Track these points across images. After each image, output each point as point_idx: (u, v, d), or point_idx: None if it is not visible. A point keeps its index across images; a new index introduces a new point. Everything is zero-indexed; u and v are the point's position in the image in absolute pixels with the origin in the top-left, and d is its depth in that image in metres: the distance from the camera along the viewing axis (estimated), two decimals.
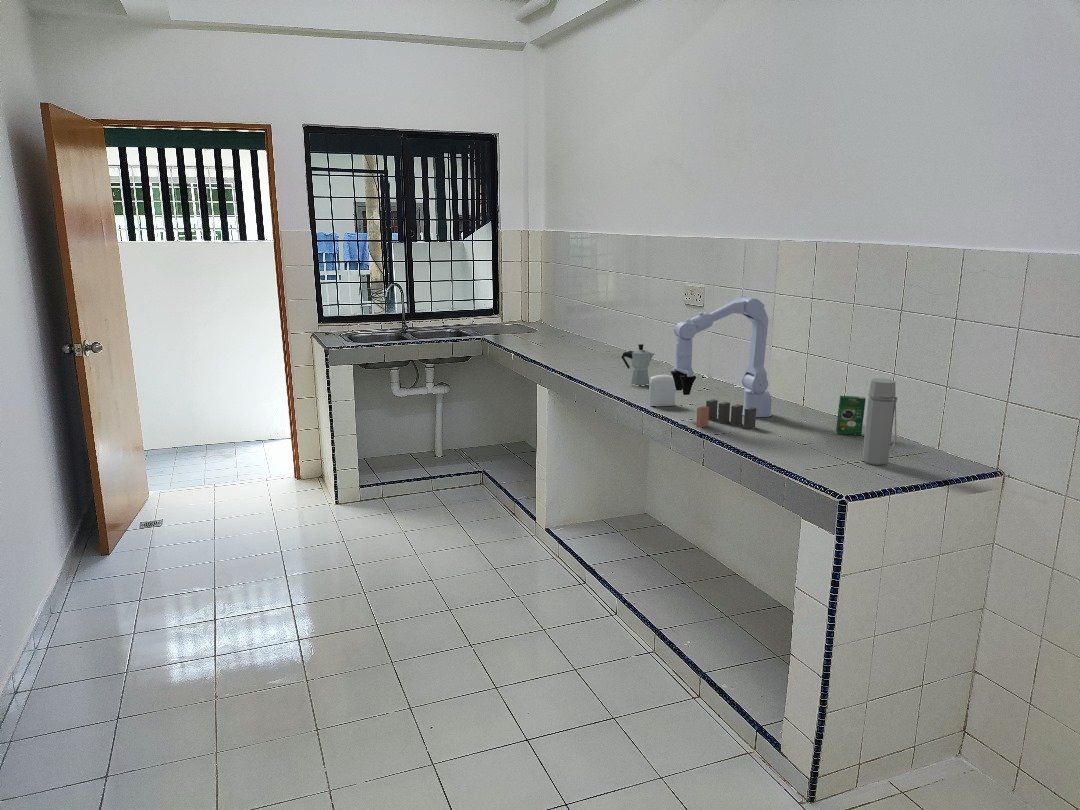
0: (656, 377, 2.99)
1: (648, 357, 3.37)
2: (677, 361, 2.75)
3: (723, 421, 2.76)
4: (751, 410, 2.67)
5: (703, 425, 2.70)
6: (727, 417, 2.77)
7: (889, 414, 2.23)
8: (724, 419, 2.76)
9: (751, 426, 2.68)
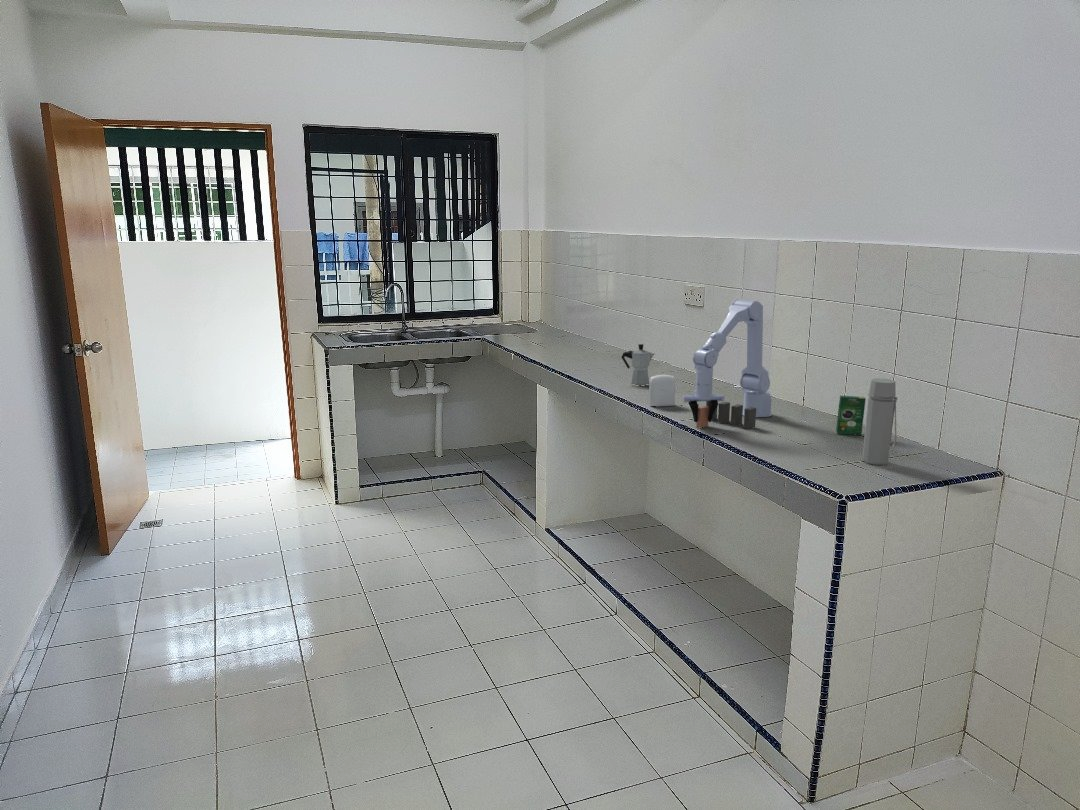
0: (656, 377, 2.99)
1: (648, 357, 3.37)
2: None
3: (723, 421, 2.76)
4: (751, 410, 2.67)
5: (703, 425, 2.70)
6: (727, 417, 2.77)
7: (889, 414, 2.23)
8: (724, 419, 2.76)
9: (751, 426, 2.68)
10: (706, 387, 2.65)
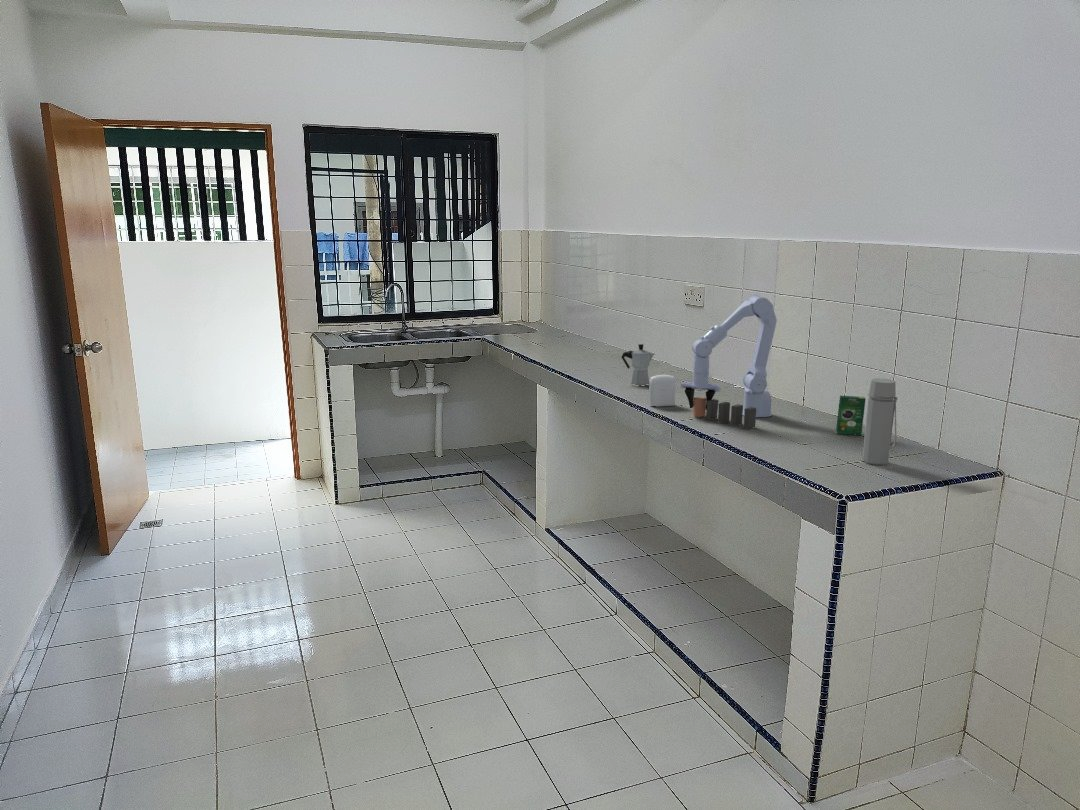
0: (656, 377, 2.99)
1: (648, 357, 3.37)
2: None
3: (723, 421, 2.76)
4: (751, 410, 2.67)
5: (698, 415, 2.85)
6: (727, 417, 2.77)
7: (889, 414, 2.23)
8: (724, 419, 2.76)
9: (751, 426, 2.68)
10: (698, 376, 2.80)
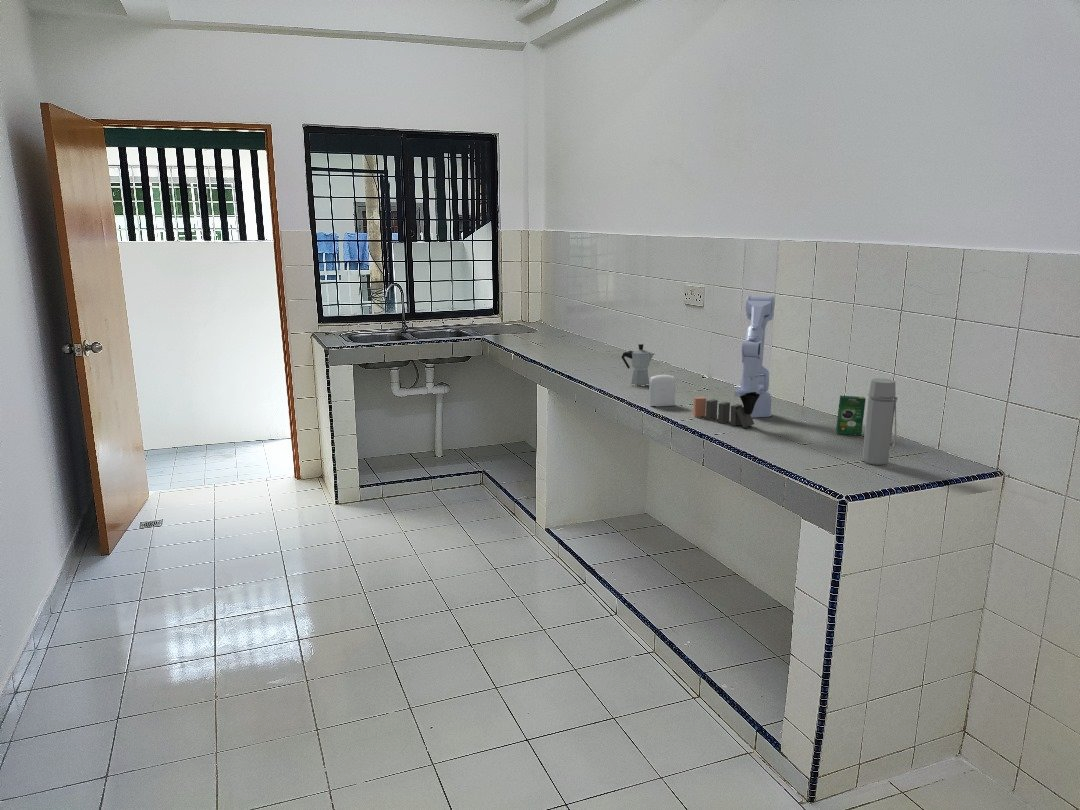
0: (656, 377, 2.99)
1: (648, 357, 3.37)
2: None
3: (723, 421, 2.76)
4: (742, 408, 2.70)
5: (698, 415, 2.85)
6: (727, 417, 2.77)
7: (889, 414, 2.23)
8: (724, 419, 2.76)
9: (749, 423, 2.69)
10: (757, 379, 2.64)
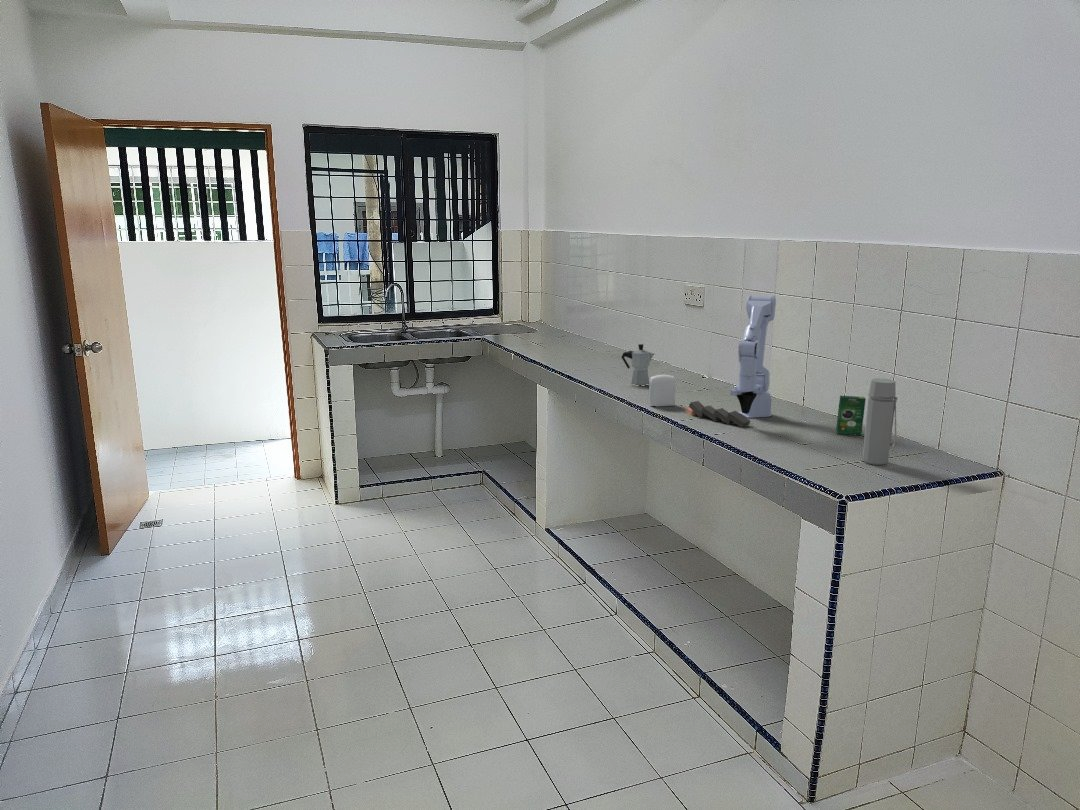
0: (656, 377, 2.99)
1: (648, 357, 3.37)
2: None
3: None
4: (731, 412, 2.74)
5: None
6: None
7: (889, 414, 2.23)
8: None
9: (745, 420, 2.70)
10: (753, 378, 2.65)
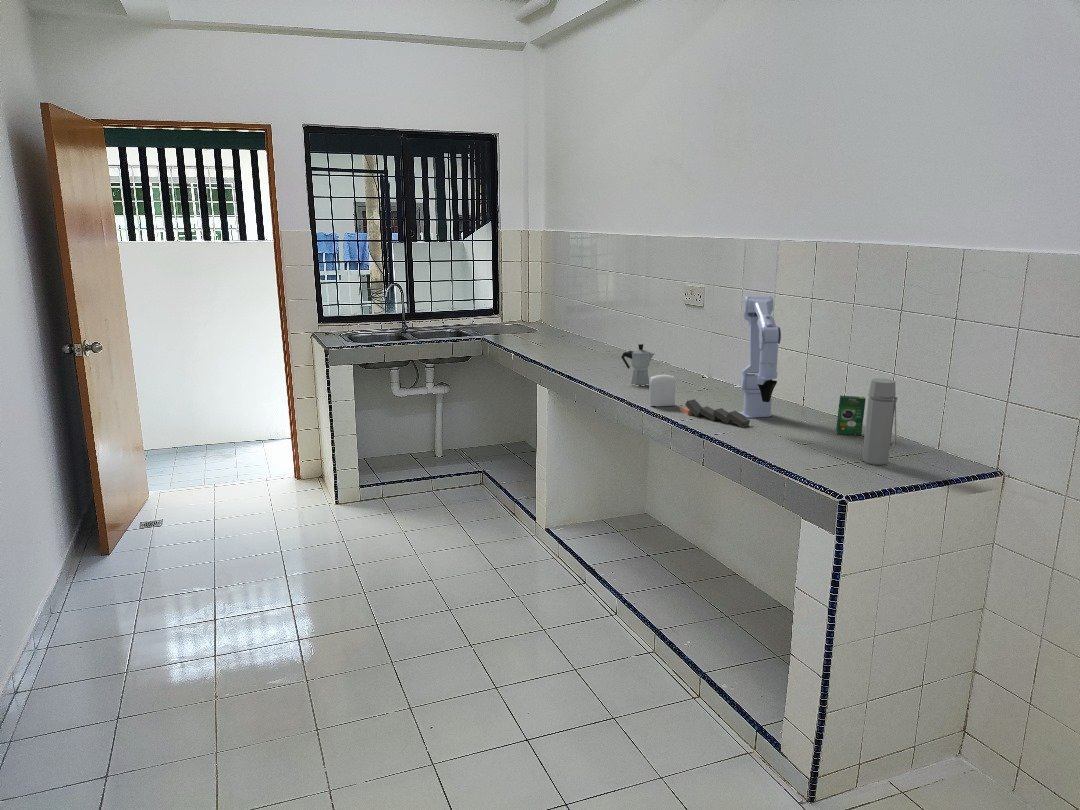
0: (656, 377, 2.99)
1: (648, 357, 3.37)
2: (759, 367, 2.61)
3: (714, 415, 2.79)
4: (731, 412, 2.74)
5: None
6: None
7: (889, 414, 2.23)
8: None
9: (744, 420, 2.71)
10: (776, 365, 2.58)
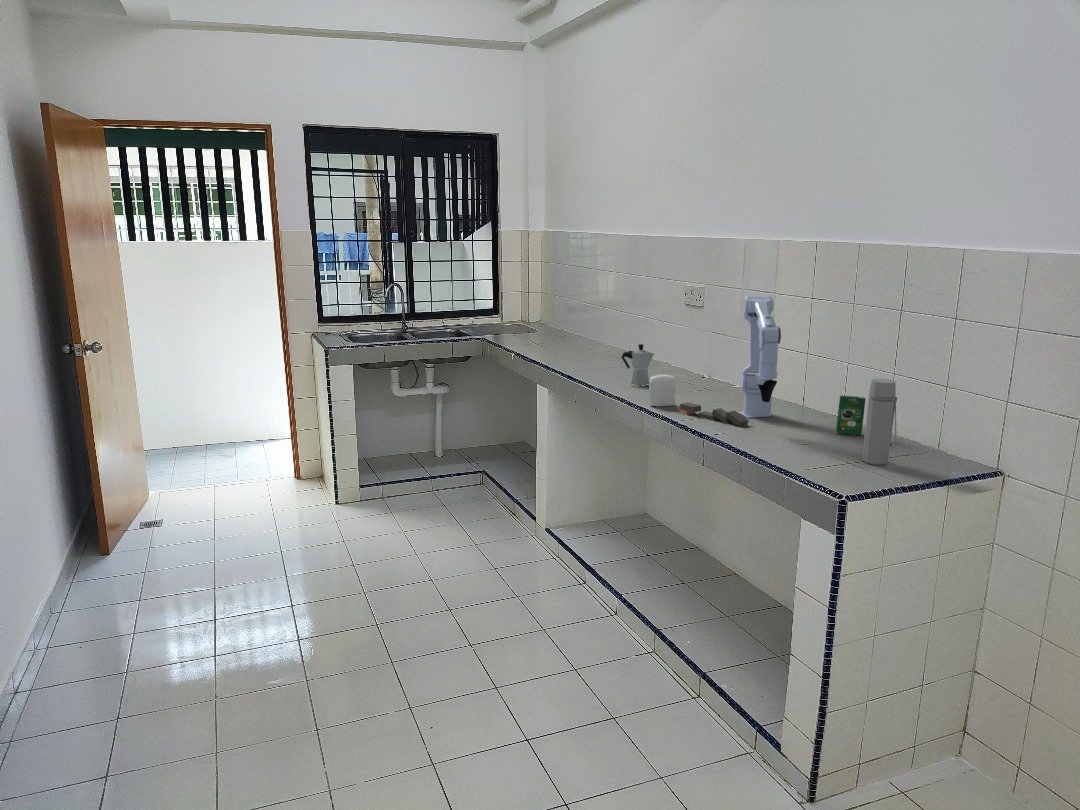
0: (656, 377, 2.99)
1: (648, 357, 3.37)
2: (759, 367, 2.61)
3: (712, 415, 2.80)
4: (730, 412, 2.75)
5: None
6: None
7: (889, 414, 2.23)
8: None
9: (743, 420, 2.71)
10: (776, 365, 2.58)
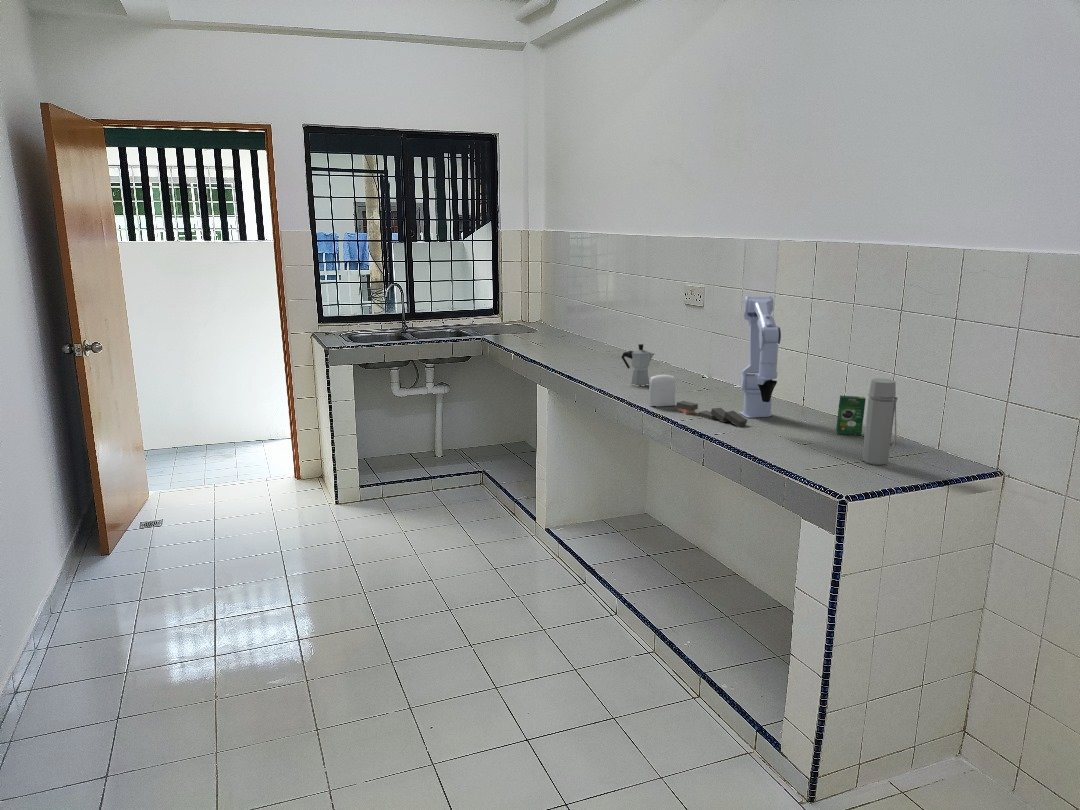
0: (656, 377, 2.99)
1: (648, 357, 3.37)
2: (759, 367, 2.61)
3: (712, 415, 2.81)
4: (728, 412, 2.75)
5: None
6: None
7: (889, 414, 2.23)
8: None
9: (741, 420, 2.71)
10: (776, 365, 2.58)
